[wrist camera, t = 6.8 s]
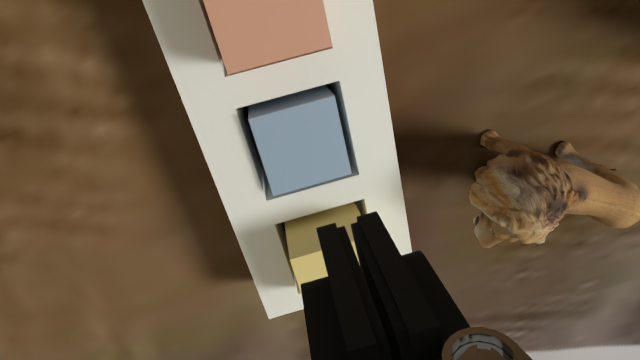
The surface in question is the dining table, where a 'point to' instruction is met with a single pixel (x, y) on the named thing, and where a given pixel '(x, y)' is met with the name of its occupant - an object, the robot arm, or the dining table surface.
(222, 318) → the dining table surface
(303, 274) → the ochre button
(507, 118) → the dining table surface
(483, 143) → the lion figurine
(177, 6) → the button board
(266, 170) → the blue button
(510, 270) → the dining table surface
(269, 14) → the terracotta button
